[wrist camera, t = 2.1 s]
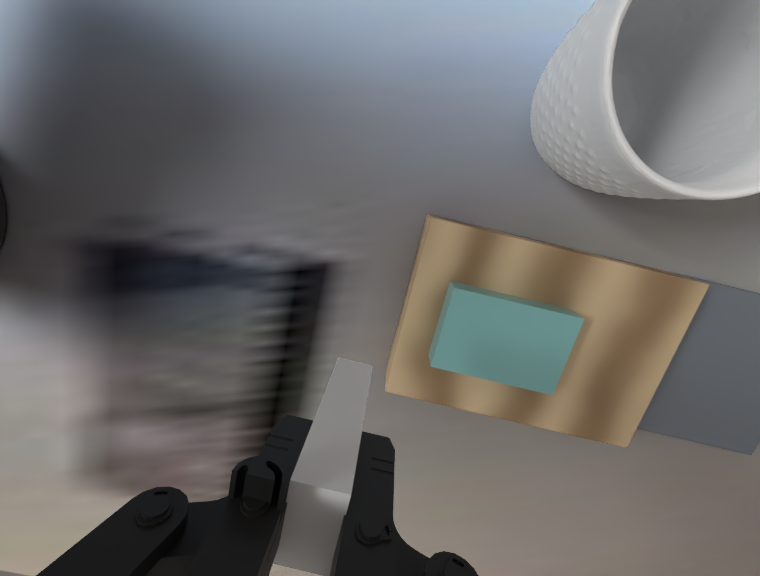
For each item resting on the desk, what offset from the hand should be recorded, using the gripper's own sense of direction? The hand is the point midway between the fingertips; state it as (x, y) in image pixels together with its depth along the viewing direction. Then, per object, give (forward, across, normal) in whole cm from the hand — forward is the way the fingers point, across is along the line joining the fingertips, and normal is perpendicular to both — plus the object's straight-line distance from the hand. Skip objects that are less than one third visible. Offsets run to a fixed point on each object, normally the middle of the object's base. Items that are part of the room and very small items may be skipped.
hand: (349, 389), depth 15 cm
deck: (+16, +12, 0) cm, 20 cm away
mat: (+16, +30, 0) cm, 34 cm away
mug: (+16, +12, +17) cm, 27 cm away
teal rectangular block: (+12, +10, 0) cm, 15 cm away
